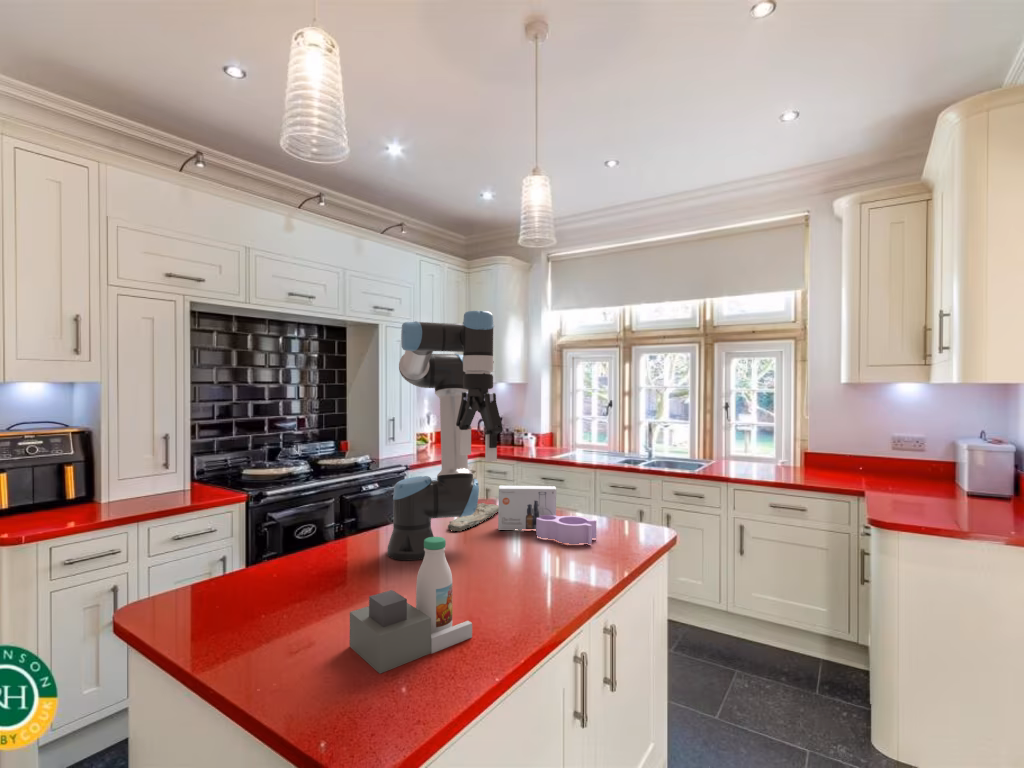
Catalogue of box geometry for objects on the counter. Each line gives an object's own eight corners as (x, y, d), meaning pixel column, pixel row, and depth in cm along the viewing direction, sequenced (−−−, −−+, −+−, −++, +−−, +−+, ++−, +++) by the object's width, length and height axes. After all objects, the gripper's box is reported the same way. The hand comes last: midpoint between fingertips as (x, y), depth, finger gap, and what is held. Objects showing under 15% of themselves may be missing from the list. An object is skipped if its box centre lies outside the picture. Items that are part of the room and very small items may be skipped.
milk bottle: (422, 644, 105) (422, 546, 105) (411, 628, 112) (411, 536, 112) (457, 636, 108) (458, 541, 108) (444, 621, 115) (445, 532, 115)
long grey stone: (440, 534, 187) (464, 539, 183) (440, 520, 187) (464, 525, 183) (483, 508, 219) (505, 512, 215) (484, 496, 219) (505, 499, 215)
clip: (531, 541, 175) (531, 520, 175) (544, 531, 187) (544, 512, 187) (589, 548, 167) (589, 527, 167) (598, 538, 179) (598, 518, 179)
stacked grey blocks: (349, 646, 104) (349, 591, 104) (436, 615, 118) (436, 567, 118) (380, 674, 94) (380, 614, 94) (472, 637, 108) (472, 584, 108)
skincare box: (498, 532, 185) (498, 488, 185) (498, 527, 191) (498, 485, 191) (556, 532, 185) (556, 488, 185) (555, 528, 191) (555, 485, 191)
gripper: (517, 372, 120) (516, 463, 120) (469, 374, 141) (468, 451, 141) (489, 372, 116) (488, 465, 116) (444, 373, 137) (443, 453, 137)
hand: (477, 458), depth 129 cm, fingers open, 13 cm apart
